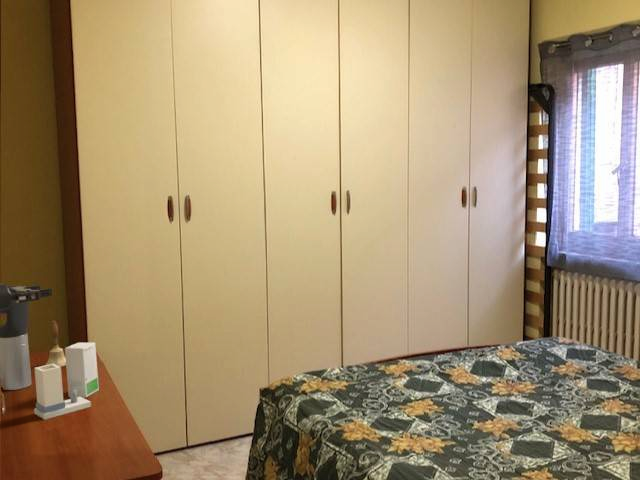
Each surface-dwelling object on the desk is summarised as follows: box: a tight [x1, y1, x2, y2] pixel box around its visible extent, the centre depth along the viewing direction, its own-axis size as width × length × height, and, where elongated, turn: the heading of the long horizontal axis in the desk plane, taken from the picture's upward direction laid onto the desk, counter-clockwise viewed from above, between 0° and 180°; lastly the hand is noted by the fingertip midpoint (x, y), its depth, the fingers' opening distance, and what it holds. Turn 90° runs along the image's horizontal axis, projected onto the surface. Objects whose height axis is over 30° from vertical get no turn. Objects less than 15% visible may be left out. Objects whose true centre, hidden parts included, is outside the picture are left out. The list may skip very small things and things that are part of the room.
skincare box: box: [64, 342, 100, 399], centre depth 223 cm, size 8×7×16 cm
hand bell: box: [44, 320, 66, 368], centre depth 257 cm, size 8×8×16 cm
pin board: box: [33, 390, 92, 420], centre depth 209 cm, size 14×7×5 cm, turn 134°
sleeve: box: [34, 364, 65, 413], centre depth 206 cm, size 6×6×12 cm
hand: (45, 290), depth 215 cm, fingers open, 8 cm apart
